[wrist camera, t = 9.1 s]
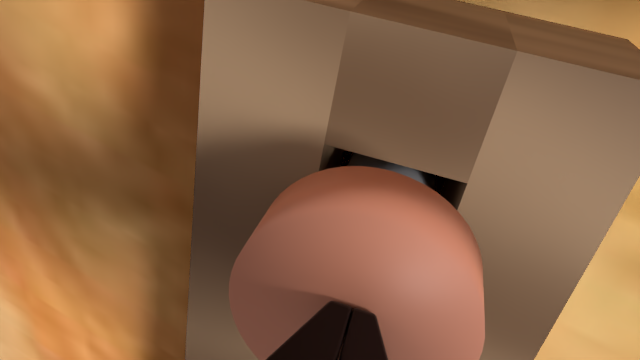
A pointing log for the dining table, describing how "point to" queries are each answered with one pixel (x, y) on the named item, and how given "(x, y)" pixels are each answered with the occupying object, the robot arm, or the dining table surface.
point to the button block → (416, 139)
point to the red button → (364, 263)
